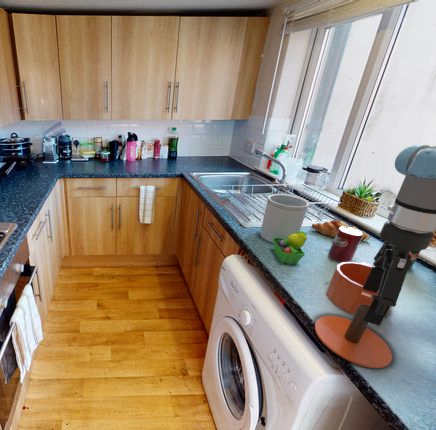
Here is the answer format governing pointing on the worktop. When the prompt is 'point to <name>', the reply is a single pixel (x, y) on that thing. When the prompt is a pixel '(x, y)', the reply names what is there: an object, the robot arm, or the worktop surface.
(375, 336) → the lid
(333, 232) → the croissant
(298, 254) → the fruit basket
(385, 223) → the robot arm
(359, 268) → the pot
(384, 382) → the worktop surface
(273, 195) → the utensil holder
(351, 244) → the soda can
